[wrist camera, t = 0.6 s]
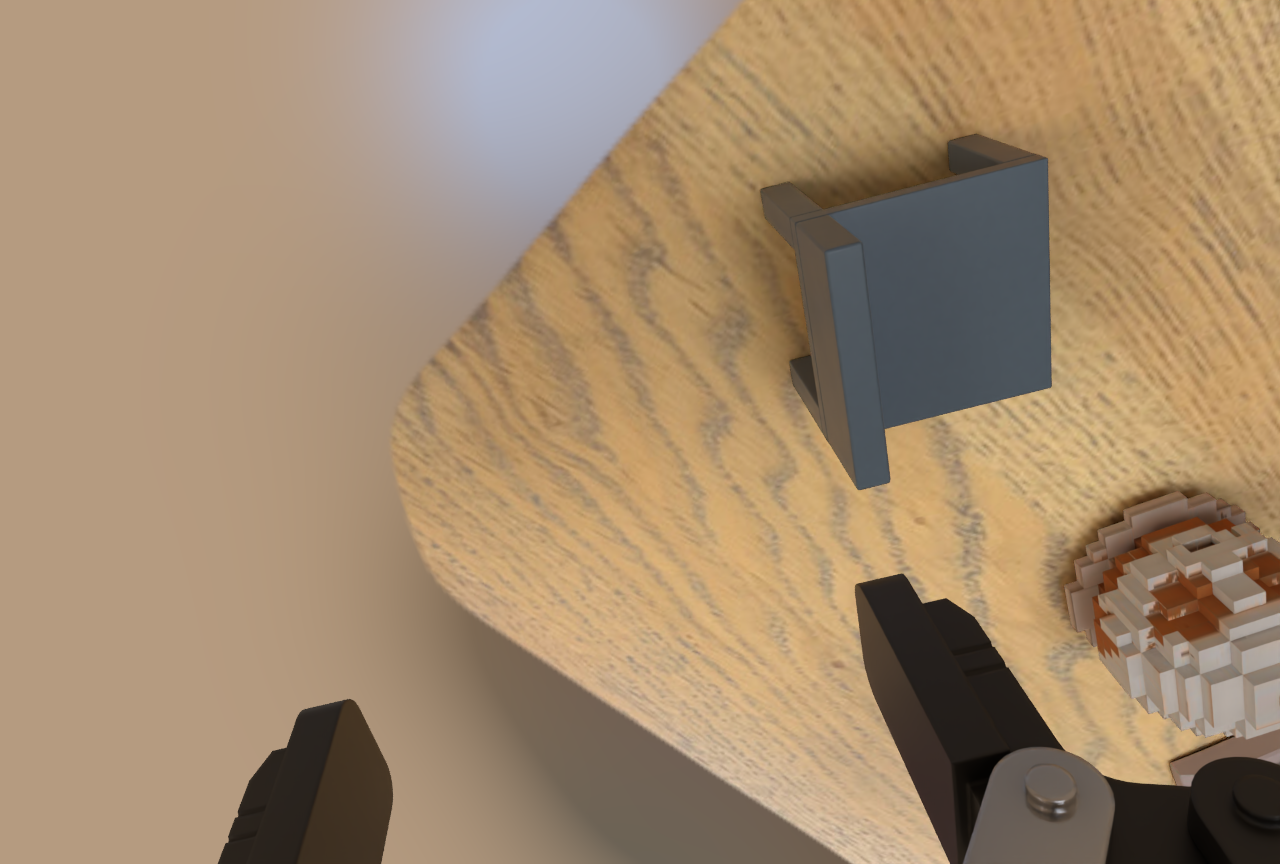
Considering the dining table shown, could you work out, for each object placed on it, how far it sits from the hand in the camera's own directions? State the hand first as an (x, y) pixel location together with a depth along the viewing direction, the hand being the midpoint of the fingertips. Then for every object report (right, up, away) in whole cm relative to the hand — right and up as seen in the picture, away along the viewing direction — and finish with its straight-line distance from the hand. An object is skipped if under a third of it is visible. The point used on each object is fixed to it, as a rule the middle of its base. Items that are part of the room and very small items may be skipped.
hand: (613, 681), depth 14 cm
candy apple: (+22, -2, +24) cm, 32 cm away
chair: (+9, +10, +16) cm, 21 cm away
